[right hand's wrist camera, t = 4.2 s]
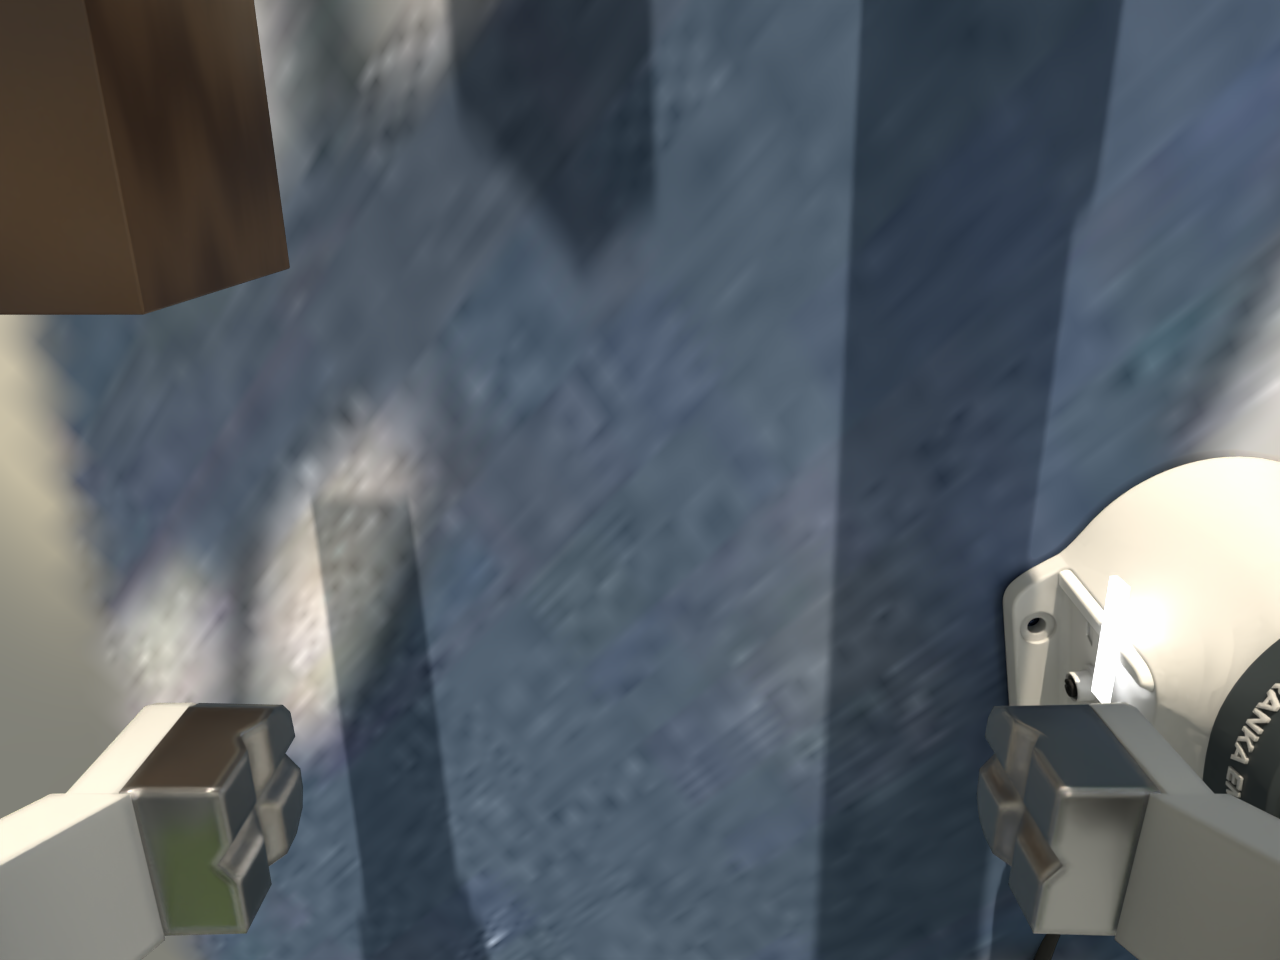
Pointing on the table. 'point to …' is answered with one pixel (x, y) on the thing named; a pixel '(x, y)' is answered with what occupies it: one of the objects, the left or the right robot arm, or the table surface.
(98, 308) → the bar
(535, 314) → the table surface
